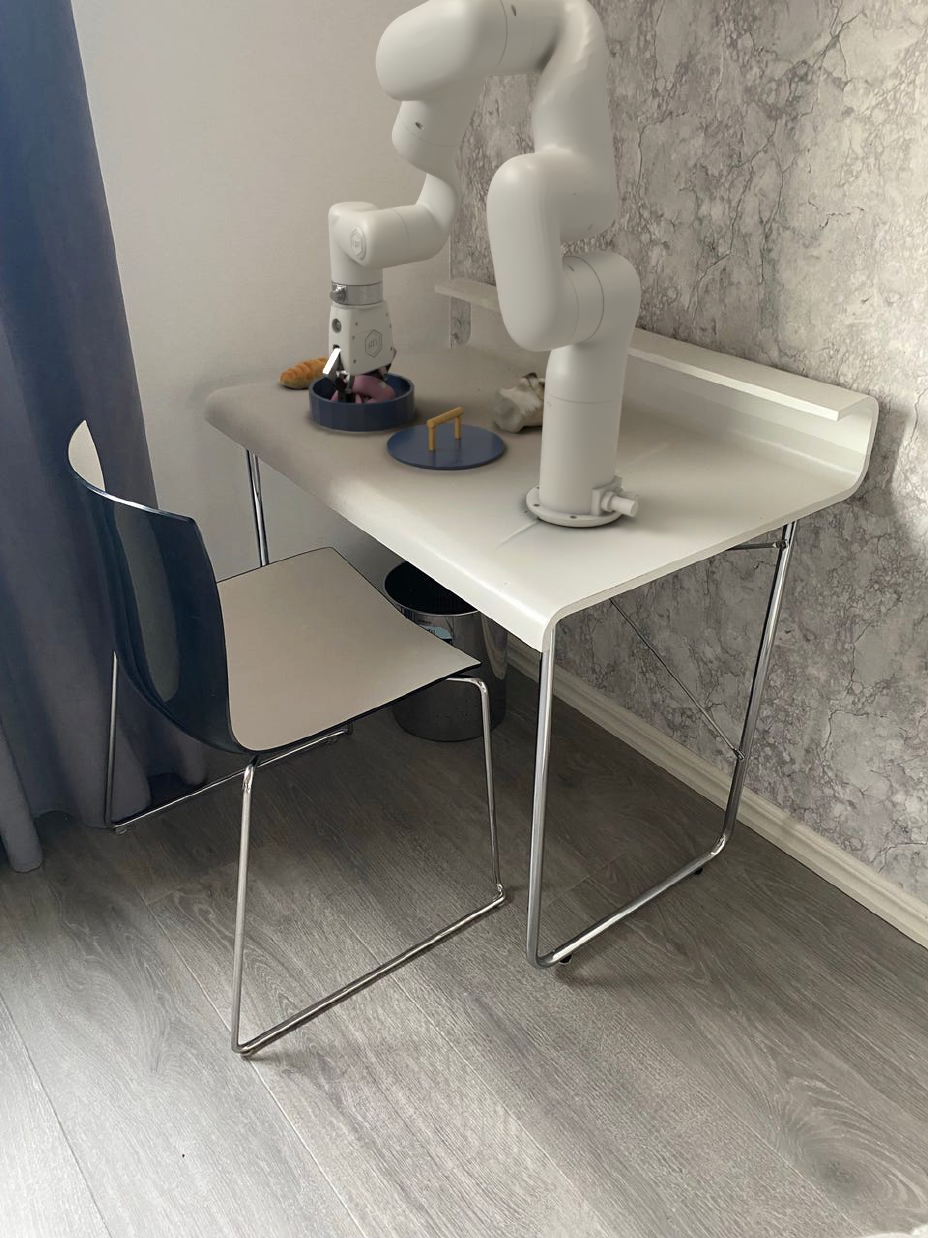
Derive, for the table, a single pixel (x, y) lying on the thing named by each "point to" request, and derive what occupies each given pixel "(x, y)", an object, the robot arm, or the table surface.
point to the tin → (362, 407)
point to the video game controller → (369, 389)
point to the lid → (445, 444)
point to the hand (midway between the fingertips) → (362, 408)
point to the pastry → (304, 373)
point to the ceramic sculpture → (520, 404)
